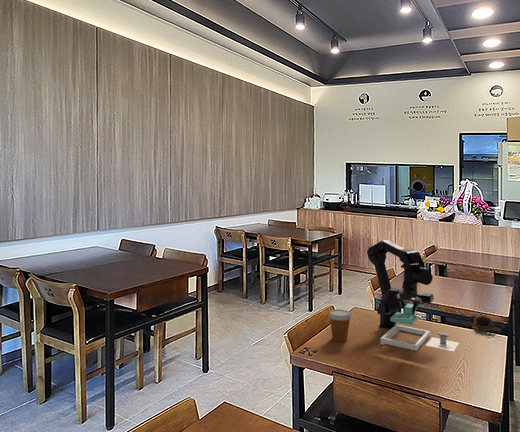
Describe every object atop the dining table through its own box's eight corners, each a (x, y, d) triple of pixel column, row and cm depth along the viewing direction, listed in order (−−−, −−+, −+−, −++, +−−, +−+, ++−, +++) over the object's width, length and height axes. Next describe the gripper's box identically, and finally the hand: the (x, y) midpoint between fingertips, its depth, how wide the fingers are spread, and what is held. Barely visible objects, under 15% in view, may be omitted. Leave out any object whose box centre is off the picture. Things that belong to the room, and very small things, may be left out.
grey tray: (380, 344, 186) (380, 337, 185) (395, 330, 202) (396, 324, 202) (416, 352, 177) (416, 345, 177) (429, 337, 193) (429, 331, 193)
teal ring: (390, 321, 185) (390, 310, 185) (401, 312, 197) (401, 302, 196) (411, 325, 180) (412, 314, 180) (421, 315, 192) (421, 305, 191)
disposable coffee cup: (327, 342, 189) (328, 315, 188) (329, 334, 198) (329, 308, 197) (350, 344, 187) (350, 316, 185) (351, 336, 196) (351, 310, 195)
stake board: (425, 347, 182) (425, 336, 182) (432, 339, 191) (432, 328, 191) (453, 353, 176) (454, 341, 175) (459, 345, 185) (459, 333, 184)
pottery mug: (499, 333, 200) (499, 320, 195) (485, 344, 197) (485, 332, 193) (475, 319, 209) (475, 307, 205) (462, 330, 207) (461, 318, 202)
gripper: (383, 280, 189) (382, 315, 191) (427, 286, 179) (426, 323, 180) (391, 275, 198) (390, 308, 200) (434, 281, 188) (433, 316, 189)
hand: (409, 314), depth 192 cm, fingers closed on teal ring, 3 cm apart
